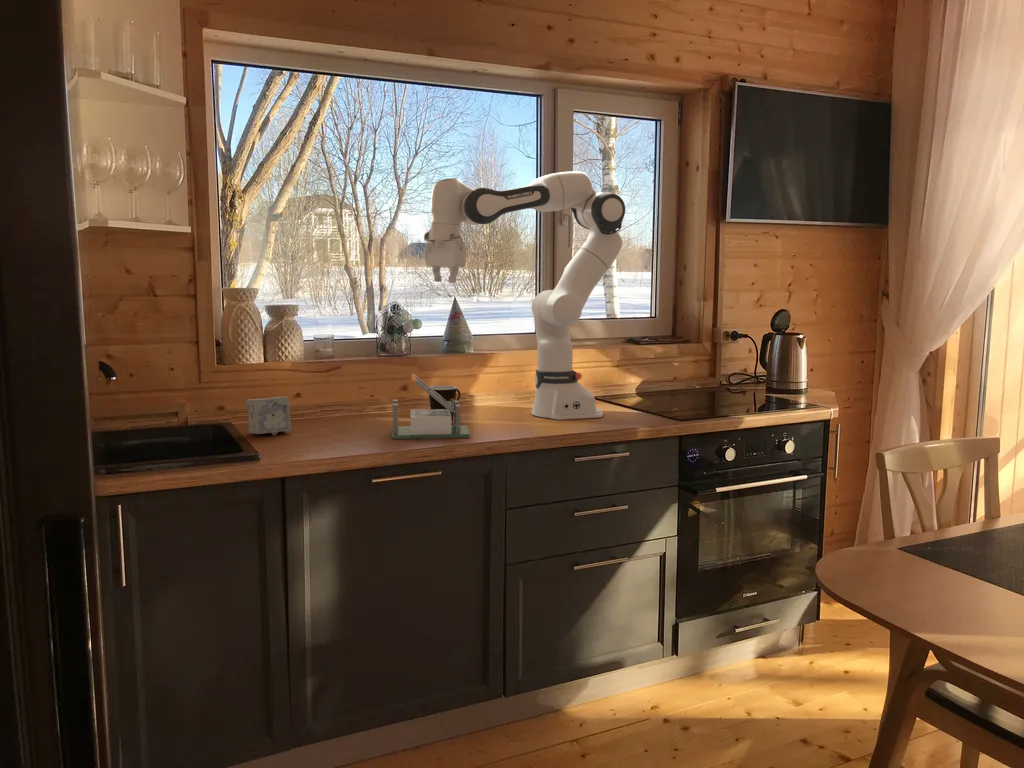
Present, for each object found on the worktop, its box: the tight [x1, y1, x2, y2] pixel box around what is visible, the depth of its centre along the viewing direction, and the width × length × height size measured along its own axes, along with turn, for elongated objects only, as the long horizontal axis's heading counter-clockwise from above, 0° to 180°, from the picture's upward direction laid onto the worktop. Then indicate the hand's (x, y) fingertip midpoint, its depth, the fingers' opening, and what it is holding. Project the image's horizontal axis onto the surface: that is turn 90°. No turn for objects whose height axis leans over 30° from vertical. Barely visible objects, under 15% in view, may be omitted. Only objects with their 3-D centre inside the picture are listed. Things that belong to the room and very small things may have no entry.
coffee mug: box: [428, 384, 461, 422], centre depth 246 cm, size 12×9×10 cm
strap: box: [410, 376, 453, 412], centre depth 222 cm, size 14×3×1 cm
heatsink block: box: [391, 399, 471, 440], centre depth 226 cm, size 21×12×9 cm, turn 97°
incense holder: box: [245, 396, 292, 436], centre depth 224 cm, size 10×8×10 cm
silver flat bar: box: [411, 373, 452, 407], centre depth 228 cm, size 14×3×1 cm
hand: (444, 282), depth 240 cm, fingers open, 8 cm apart
